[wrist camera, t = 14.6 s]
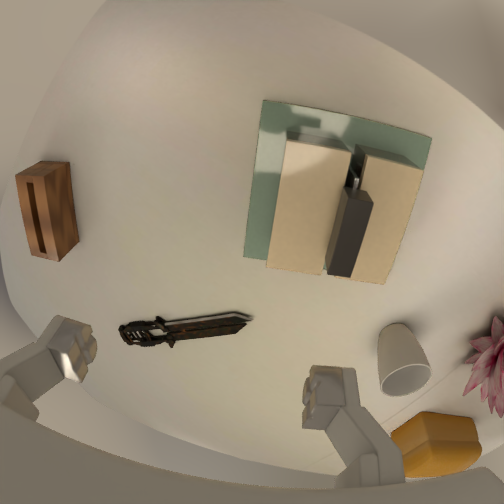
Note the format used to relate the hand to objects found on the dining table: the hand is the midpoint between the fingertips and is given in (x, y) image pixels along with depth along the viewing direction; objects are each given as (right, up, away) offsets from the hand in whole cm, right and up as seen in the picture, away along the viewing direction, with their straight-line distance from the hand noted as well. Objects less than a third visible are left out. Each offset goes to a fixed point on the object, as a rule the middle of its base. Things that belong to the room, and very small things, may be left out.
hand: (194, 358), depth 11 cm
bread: (+51, -43, +54) cm, 86 cm away
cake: (+12, +10, +26) cm, 31 cm away
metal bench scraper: (+12, +10, +26) cm, 30 cm away
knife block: (-27, +11, +31) cm, 43 cm away
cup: (+25, -10, +37) cm, 46 cm away
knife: (-10, -9, +41) cm, 43 cm away
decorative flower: (+50, -13, +36) cm, 63 cm away
